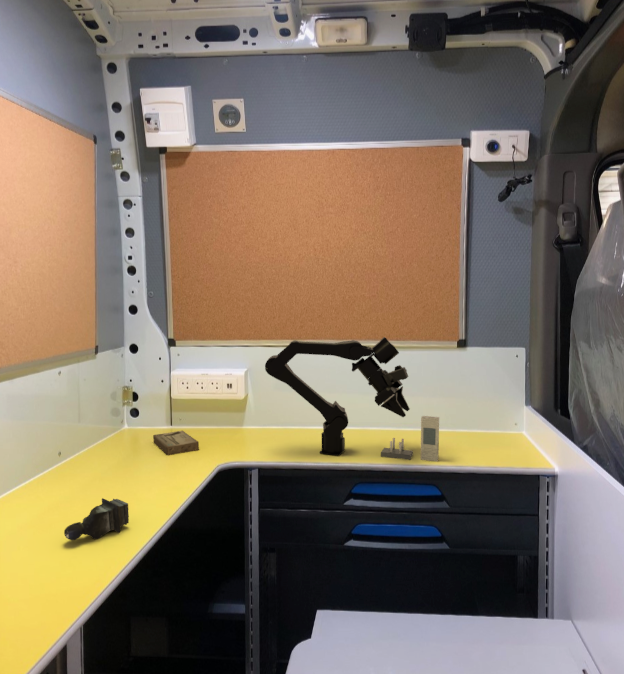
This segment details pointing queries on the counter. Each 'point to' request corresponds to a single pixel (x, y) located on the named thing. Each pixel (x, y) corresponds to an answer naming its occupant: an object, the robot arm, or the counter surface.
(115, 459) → the counter surface
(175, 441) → the box
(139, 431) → the counter surface
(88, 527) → the dark statue fragment
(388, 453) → the dark grey pegged block
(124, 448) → the counter surface
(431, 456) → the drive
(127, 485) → the counter surface
